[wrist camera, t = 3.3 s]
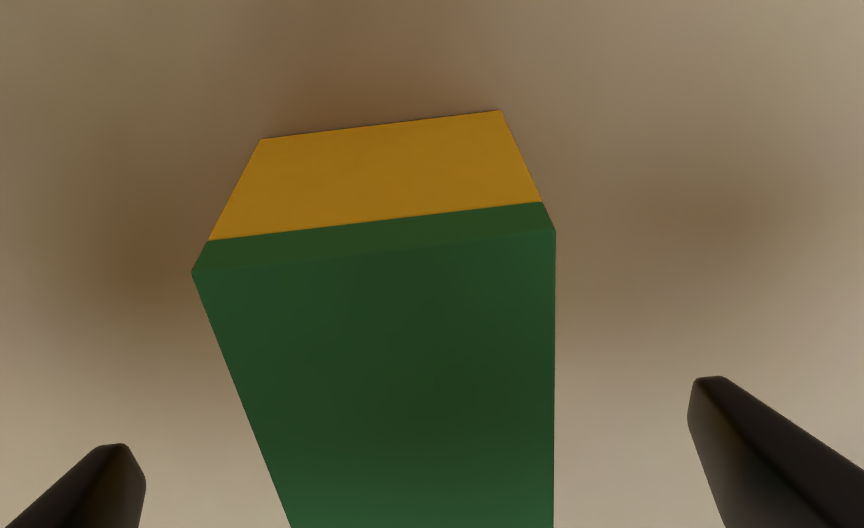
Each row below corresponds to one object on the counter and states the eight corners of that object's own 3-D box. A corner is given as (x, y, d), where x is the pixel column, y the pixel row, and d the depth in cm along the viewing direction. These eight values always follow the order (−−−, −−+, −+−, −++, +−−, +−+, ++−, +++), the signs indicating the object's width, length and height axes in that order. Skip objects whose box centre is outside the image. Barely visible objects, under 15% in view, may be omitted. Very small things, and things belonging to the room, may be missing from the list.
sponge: (259, 138, 11) (187, 273, 7) (501, 109, 11) (556, 229, 7) (333, 405, 15) (311, 584, 11) (513, 384, 15) (553, 557, 11)
